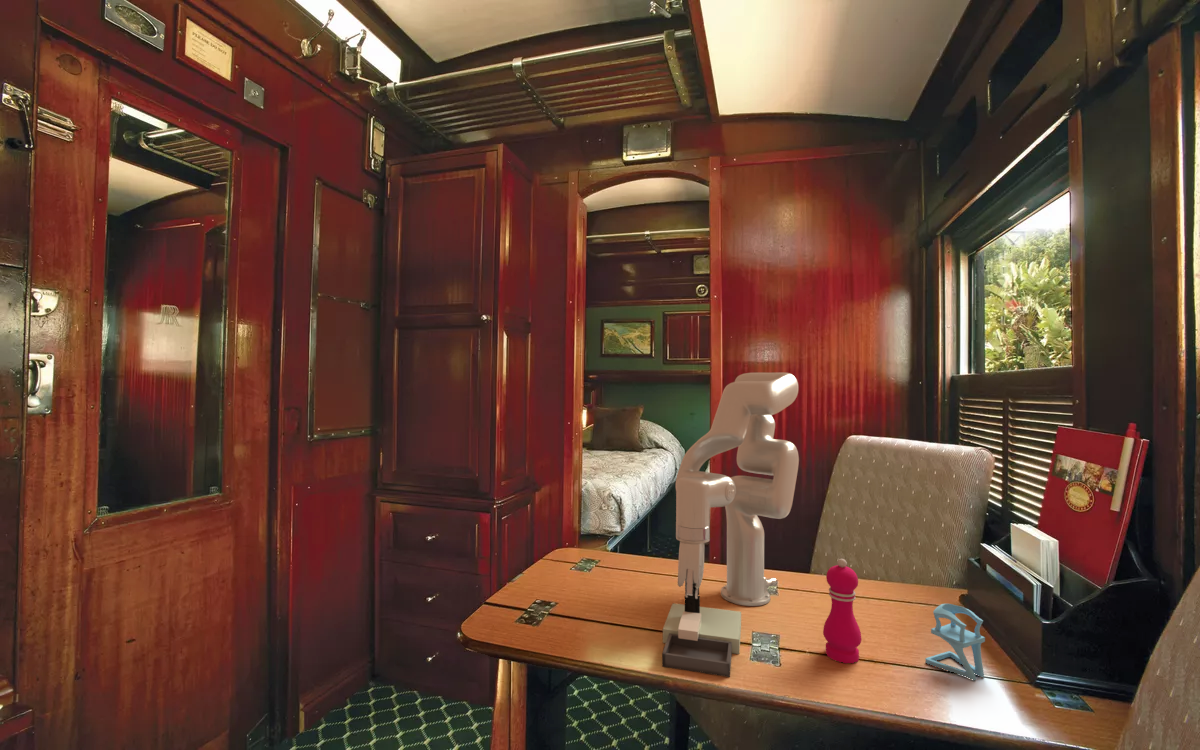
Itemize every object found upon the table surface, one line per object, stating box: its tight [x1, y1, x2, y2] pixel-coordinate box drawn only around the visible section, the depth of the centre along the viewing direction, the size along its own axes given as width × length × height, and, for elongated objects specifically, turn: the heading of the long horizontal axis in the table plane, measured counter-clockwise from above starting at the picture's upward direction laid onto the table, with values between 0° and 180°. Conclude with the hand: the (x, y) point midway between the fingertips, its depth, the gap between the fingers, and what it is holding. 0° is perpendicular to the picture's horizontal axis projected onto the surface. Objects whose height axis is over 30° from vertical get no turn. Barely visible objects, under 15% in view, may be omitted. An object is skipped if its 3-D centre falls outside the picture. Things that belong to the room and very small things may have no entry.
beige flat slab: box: [662, 602, 742, 655], centre depth 119 cm, size 14×16×3 cm
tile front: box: [678, 619, 700, 641], centre depth 112 cm, size 4×4×2 cm
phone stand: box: [924, 603, 986, 681], centre depth 105 cm, size 8×8×12 cm
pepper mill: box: [822, 558, 862, 664], centre depth 110 cm, size 7×7×20 cm
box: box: [661, 633, 733, 678], centre depth 107 cm, size 9×13×2 cm
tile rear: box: [681, 611, 701, 631], centre depth 116 cm, size 4×4×2 cm
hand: (692, 613), depth 120 cm, fingers closed
